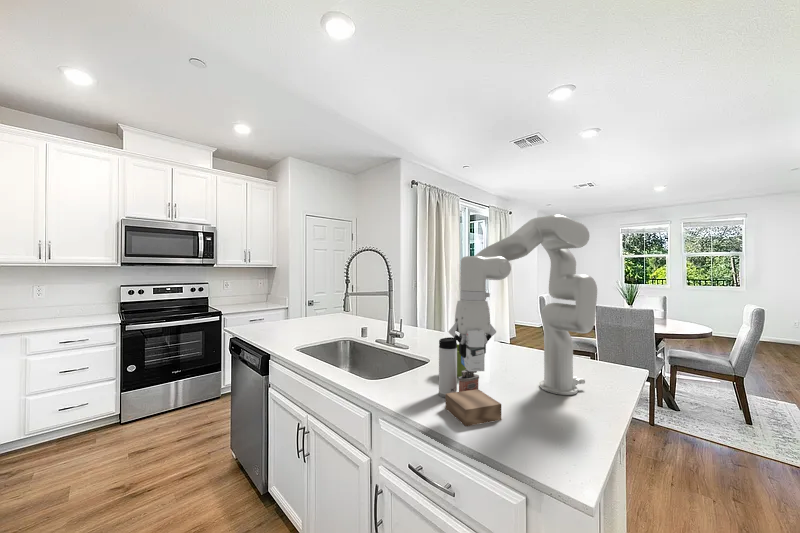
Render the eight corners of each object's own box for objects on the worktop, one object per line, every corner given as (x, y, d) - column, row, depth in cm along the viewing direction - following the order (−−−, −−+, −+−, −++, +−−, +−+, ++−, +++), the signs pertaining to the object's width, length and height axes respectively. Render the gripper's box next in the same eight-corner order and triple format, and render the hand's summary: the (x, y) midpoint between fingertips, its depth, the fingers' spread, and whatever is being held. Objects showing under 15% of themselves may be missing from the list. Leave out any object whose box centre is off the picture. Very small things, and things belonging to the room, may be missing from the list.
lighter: (462, 402, 104) (462, 372, 104) (456, 399, 107) (456, 369, 107) (481, 398, 107) (481, 368, 107) (474, 394, 110) (474, 366, 110)
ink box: (460, 363, 100) (460, 325, 100) (475, 362, 100) (476, 325, 100) (468, 371, 91) (468, 331, 91) (485, 371, 92) (485, 331, 92)
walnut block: (478, 404, 103) (478, 389, 103) (501, 421, 92) (501, 404, 92) (445, 409, 99) (445, 393, 99) (465, 427, 88) (465, 409, 88)
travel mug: (457, 399, 106) (457, 340, 106) (438, 397, 108) (438, 339, 108) (457, 392, 112) (458, 336, 113) (439, 390, 114) (439, 335, 114)
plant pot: (440, 371, 135) (440, 345, 135) (465, 368, 139) (465, 343, 139) (453, 380, 124) (453, 352, 124) (479, 377, 128) (479, 350, 128)
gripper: (493, 295, 101) (493, 352, 101) (442, 295, 98) (441, 353, 98) (505, 297, 93) (504, 358, 93) (449, 297, 91) (448, 360, 91)
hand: (472, 355), depth 96 cm, fingers closed on ink box, 5 cm apart
